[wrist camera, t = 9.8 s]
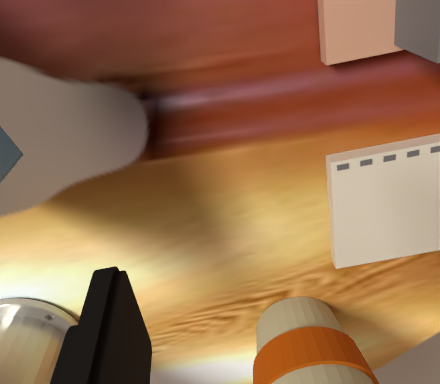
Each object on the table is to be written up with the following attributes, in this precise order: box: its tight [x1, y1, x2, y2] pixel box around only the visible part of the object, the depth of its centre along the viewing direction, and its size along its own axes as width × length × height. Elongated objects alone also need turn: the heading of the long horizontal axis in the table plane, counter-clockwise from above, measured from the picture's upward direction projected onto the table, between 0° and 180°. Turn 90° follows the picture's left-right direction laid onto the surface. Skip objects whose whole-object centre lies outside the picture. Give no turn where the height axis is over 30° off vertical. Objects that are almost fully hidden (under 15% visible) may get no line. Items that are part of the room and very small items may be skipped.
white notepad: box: [326, 134, 440, 269], centre depth 38 cm, size 12×14×2 cm
